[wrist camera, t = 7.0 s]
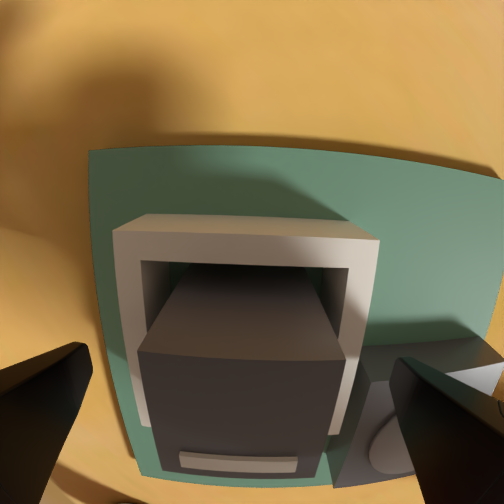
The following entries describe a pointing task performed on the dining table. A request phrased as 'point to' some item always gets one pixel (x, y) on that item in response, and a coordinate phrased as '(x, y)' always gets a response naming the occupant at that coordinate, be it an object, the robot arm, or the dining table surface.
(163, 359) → the plug
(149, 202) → the board
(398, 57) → the dining table surface
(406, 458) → the fan housing
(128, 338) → the header socket
